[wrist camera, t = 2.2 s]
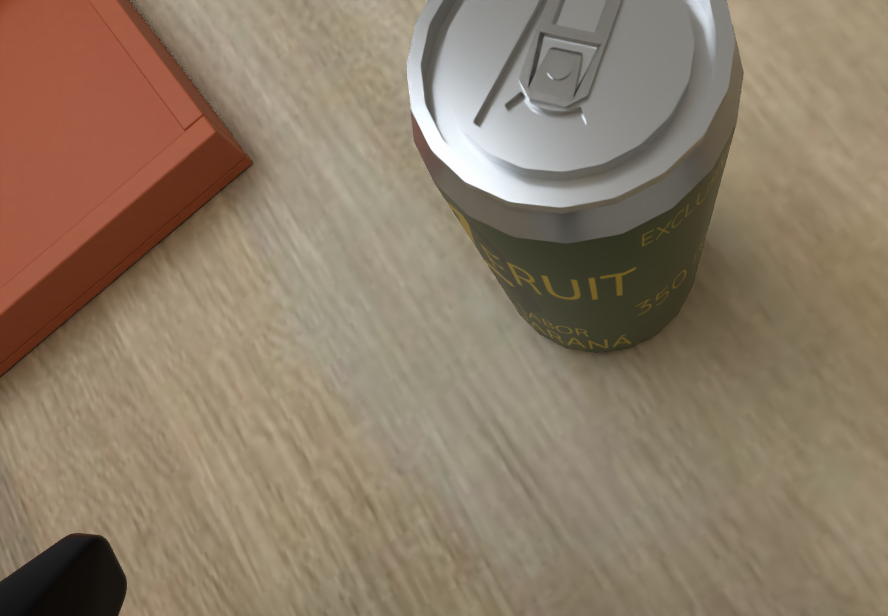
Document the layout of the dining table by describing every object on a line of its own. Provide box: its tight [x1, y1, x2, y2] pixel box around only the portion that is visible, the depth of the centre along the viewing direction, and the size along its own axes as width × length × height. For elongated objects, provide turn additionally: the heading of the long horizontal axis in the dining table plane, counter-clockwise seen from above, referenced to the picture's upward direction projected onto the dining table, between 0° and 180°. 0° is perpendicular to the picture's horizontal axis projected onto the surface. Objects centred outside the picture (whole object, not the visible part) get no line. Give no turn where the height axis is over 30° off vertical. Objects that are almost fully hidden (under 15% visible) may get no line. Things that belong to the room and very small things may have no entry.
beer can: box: [406, 0, 744, 353], centre depth 18 cm, size 5×5×12 cm
